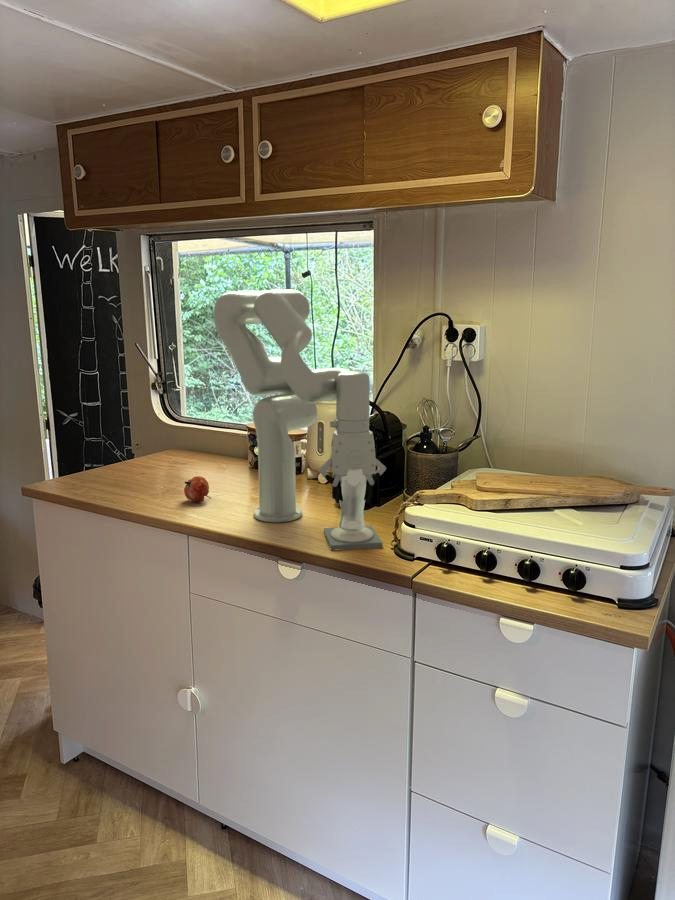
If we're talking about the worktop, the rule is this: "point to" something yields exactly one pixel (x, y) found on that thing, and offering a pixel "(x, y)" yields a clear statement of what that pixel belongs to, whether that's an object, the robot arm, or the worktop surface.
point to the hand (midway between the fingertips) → (352, 500)
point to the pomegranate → (196, 489)
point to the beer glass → (352, 500)
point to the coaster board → (352, 538)
